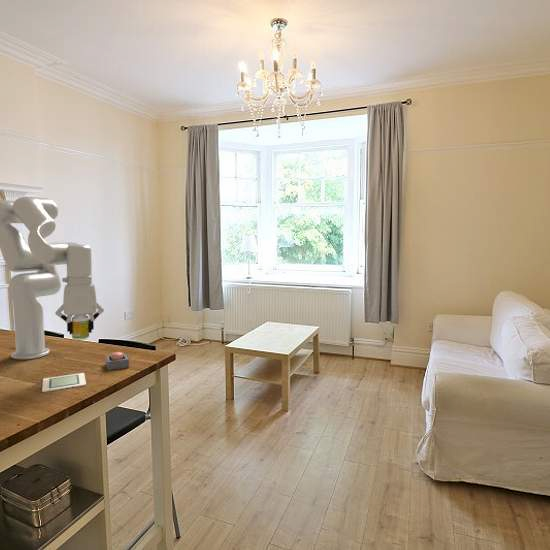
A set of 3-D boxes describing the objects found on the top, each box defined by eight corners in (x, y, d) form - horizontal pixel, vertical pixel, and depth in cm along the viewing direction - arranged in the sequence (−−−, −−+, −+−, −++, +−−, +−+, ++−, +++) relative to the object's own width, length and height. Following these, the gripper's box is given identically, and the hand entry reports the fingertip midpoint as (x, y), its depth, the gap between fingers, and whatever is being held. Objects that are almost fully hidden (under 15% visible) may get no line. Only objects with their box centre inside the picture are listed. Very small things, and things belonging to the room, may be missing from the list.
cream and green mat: (43, 379, 129) (43, 378, 129) (84, 373, 135) (84, 372, 135) (42, 392, 119) (42, 390, 119) (86, 385, 125) (86, 383, 125)
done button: (110, 359, 143) (110, 352, 143) (122, 358, 145) (122, 351, 145) (111, 362, 140) (111, 356, 140) (123, 361, 142) (123, 354, 142)
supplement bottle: (82, 340, 134) (81, 312, 133) (68, 339, 135) (67, 311, 134) (92, 336, 140) (92, 309, 138) (79, 335, 141) (78, 308, 139)
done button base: (105, 364, 144) (105, 356, 144) (126, 361, 148) (126, 353, 147) (108, 370, 138) (107, 362, 138) (129, 367, 141) (128, 359, 141)
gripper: (50, 283, 127) (52, 338, 130) (107, 281, 136) (108, 333, 138) (50, 280, 134) (52, 332, 136) (105, 278, 142) (106, 327, 145)
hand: (80, 332), depth 137 cm, fingers closed on supplement bottle, 5 cm apart
